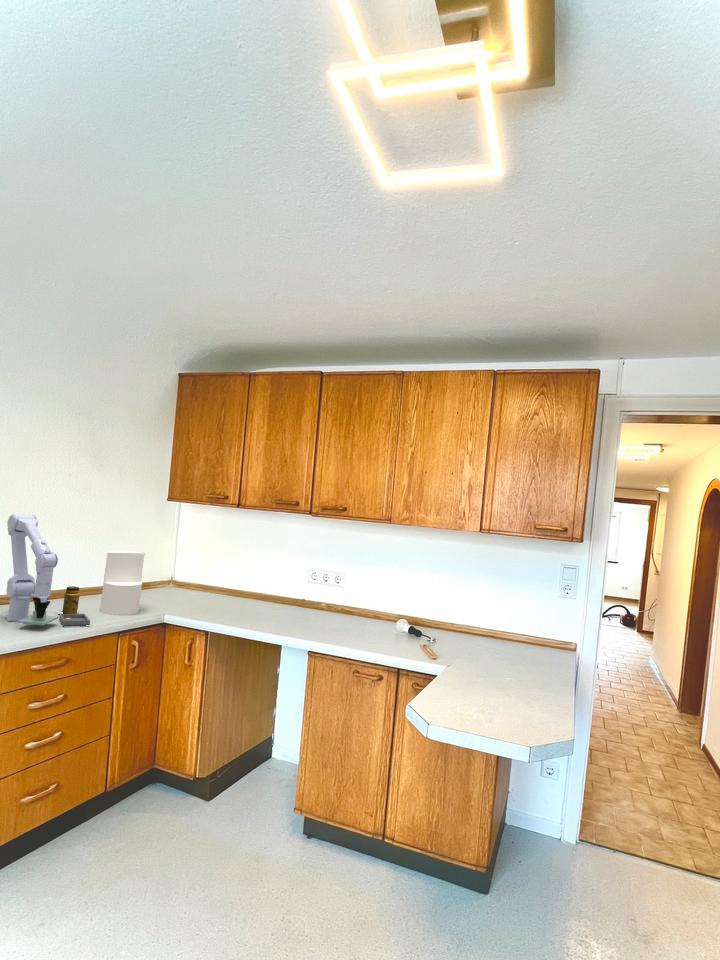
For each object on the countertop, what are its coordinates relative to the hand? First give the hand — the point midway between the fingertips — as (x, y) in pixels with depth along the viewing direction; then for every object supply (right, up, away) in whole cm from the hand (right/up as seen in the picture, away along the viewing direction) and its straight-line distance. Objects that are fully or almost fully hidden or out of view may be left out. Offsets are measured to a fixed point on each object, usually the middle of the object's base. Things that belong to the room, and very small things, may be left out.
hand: (39, 616), depth 228 cm
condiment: (-2, -5, +26) cm, 26 cm away
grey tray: (+8, -6, +11) cm, 15 cm away
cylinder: (+15, -8, +42) cm, 45 cm away
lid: (0, -2, 0) cm, 2 cm away
